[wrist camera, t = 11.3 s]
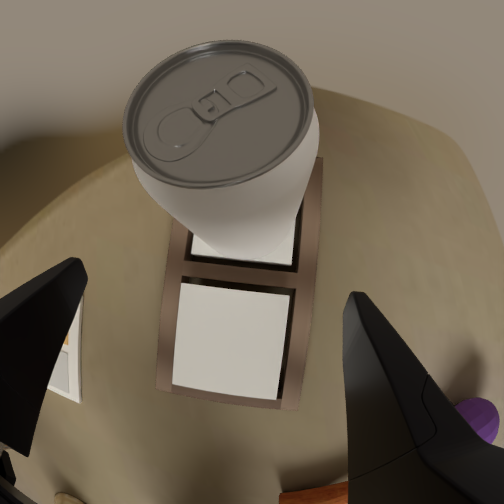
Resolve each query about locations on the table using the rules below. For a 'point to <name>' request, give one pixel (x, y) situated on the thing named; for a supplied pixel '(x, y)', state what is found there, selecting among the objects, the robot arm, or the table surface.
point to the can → (225, 143)
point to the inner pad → (229, 341)
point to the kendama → (336, 496)
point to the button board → (300, 281)
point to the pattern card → (69, 362)
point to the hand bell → (66, 499)
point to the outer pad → (276, 257)
